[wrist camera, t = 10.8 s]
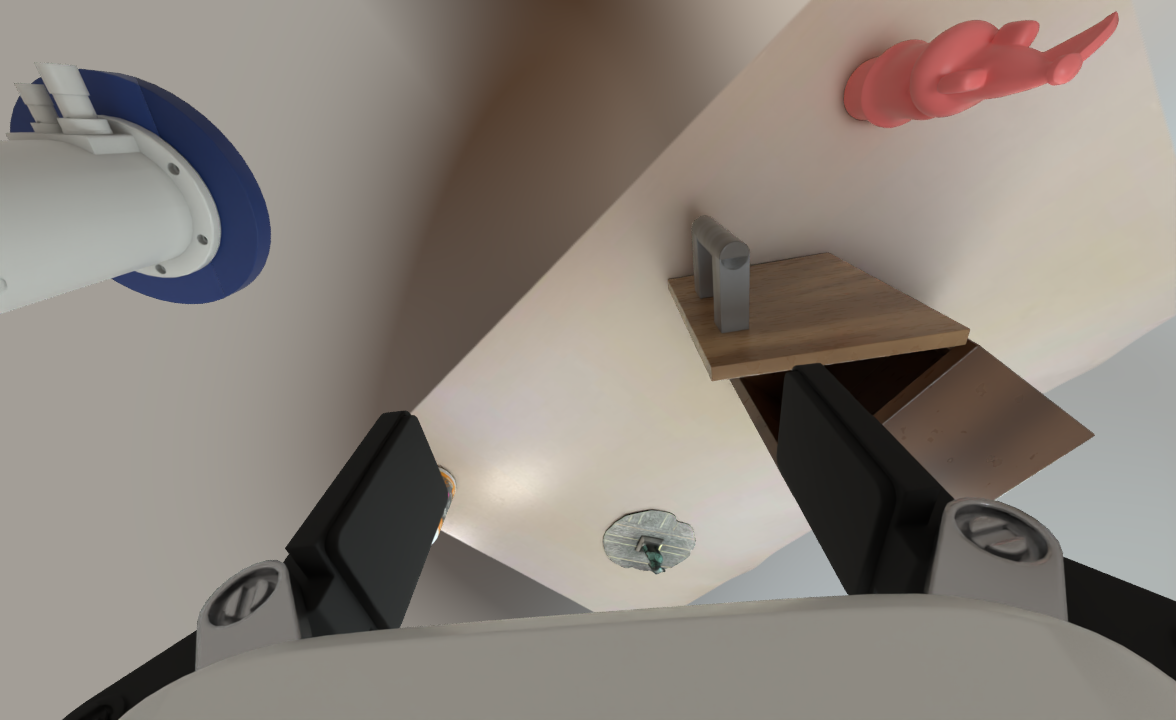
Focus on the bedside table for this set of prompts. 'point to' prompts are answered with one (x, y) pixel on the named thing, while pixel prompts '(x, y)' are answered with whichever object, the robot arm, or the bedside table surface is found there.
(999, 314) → the bedside table surface
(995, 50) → the figurine
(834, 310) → the door
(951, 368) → the cabinet
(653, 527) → the sculpture
